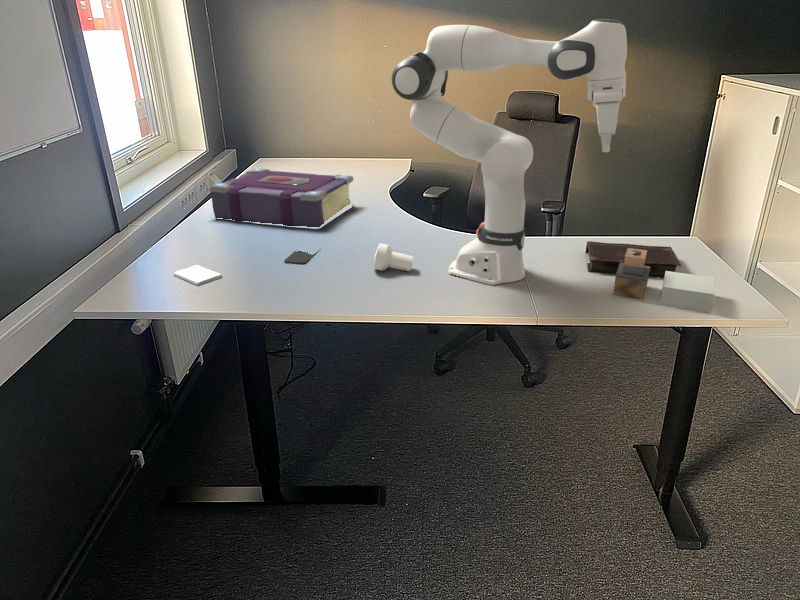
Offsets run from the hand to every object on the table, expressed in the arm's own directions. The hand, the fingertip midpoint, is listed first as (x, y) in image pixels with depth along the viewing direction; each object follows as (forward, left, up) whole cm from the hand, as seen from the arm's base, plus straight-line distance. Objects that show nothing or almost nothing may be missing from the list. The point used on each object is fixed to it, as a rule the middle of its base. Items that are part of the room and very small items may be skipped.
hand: (605, 148), depth 154 cm
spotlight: (-55, -10, -39) cm, 68 cm away
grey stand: (+25, +2, -38) cm, 46 cm away
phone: (-87, -10, -39) cm, 95 cm away
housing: (+11, +2, -32) cm, 34 cm away
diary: (+9, +22, -39) cm, 46 cm away
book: (-119, +27, -39) cm, 128 cm away
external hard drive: (-106, -37, -39) cm, 119 cm away
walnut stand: (+11, +2, -38) cm, 40 cm away
